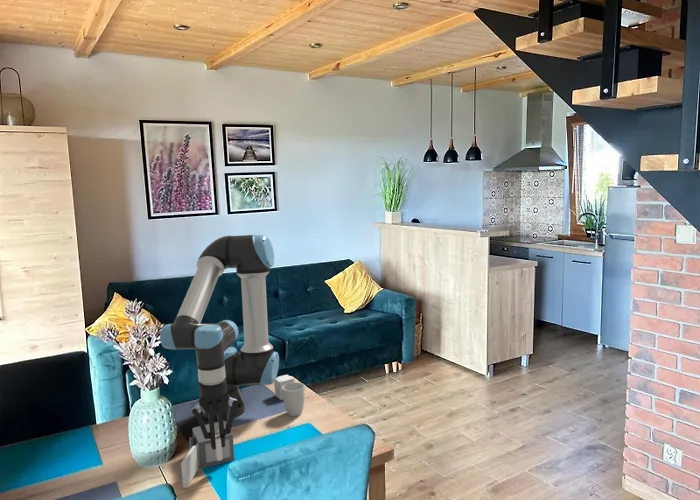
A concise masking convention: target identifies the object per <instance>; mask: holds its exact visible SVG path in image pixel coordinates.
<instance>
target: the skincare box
mask: <svg viewBox="0 0 700 500" xmlns="http://www.w3.org/2000/svg"><path fill="white" fill-rule="evenodd" d="M294 380H295V379H294V378H293V377H292V376H290V375H289V374H283V375H280V376H276V379H275V381H274V382H273V383H274V395H275V397H276V398H278V399H279V400H280V401H284V400H283V393H282V386H283V385H285V384H288V383H293V382H294Z"/></svg>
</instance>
